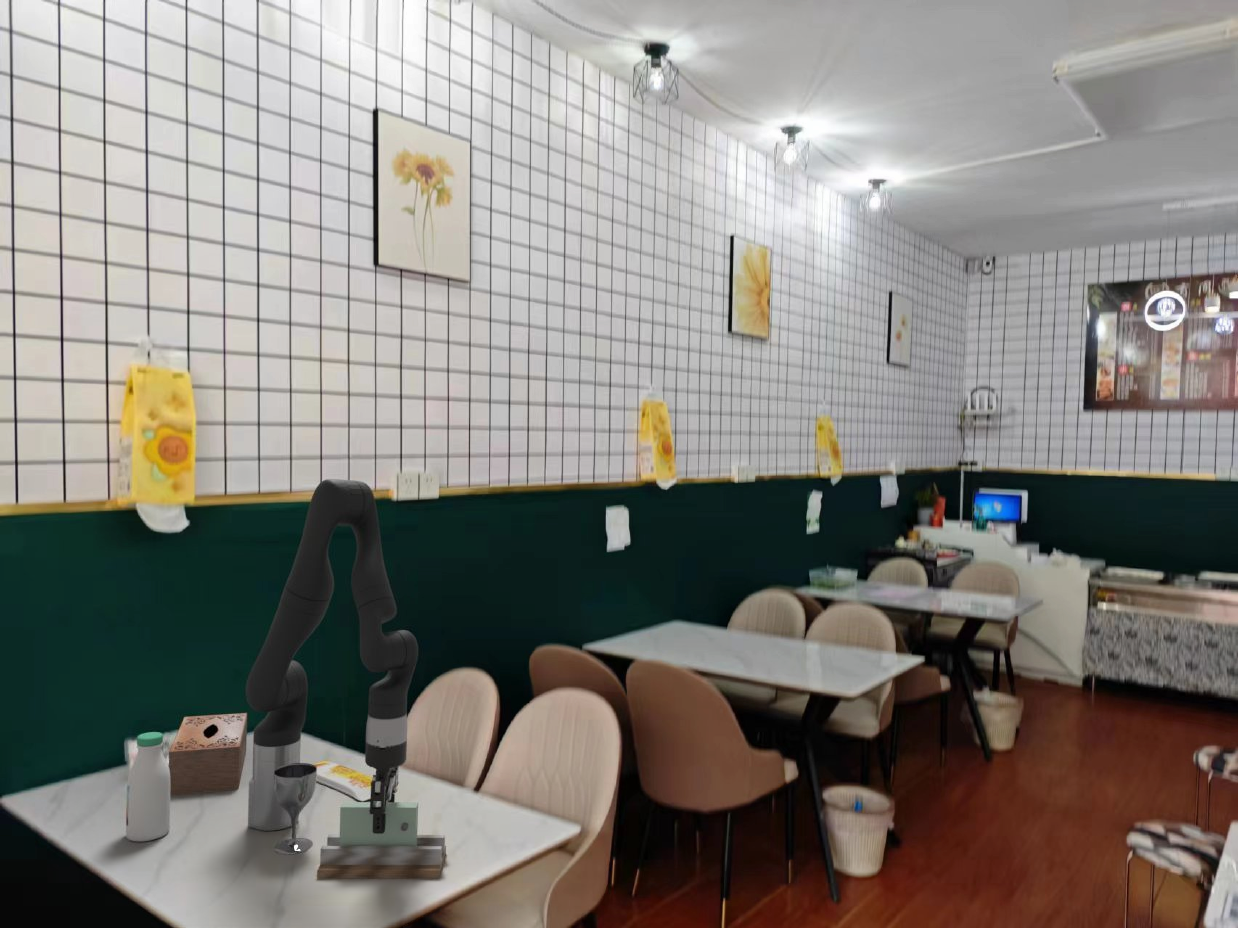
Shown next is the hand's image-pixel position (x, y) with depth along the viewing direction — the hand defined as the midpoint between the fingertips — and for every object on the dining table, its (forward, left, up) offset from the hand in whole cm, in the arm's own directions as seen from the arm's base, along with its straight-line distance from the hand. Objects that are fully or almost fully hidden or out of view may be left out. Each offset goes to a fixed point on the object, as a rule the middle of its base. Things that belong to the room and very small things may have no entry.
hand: (383, 822), depth 167 cm
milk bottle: (-49, +13, -8) cm, 51 cm away
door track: (0, 0, -8) cm, 8 cm away
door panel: (-1, 0, -7) cm, 7 cm away
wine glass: (-19, +8, -8) cm, 22 cm away
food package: (-17, +41, -9) cm, 45 cm away
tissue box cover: (-50, +47, -9) cm, 69 cm away
